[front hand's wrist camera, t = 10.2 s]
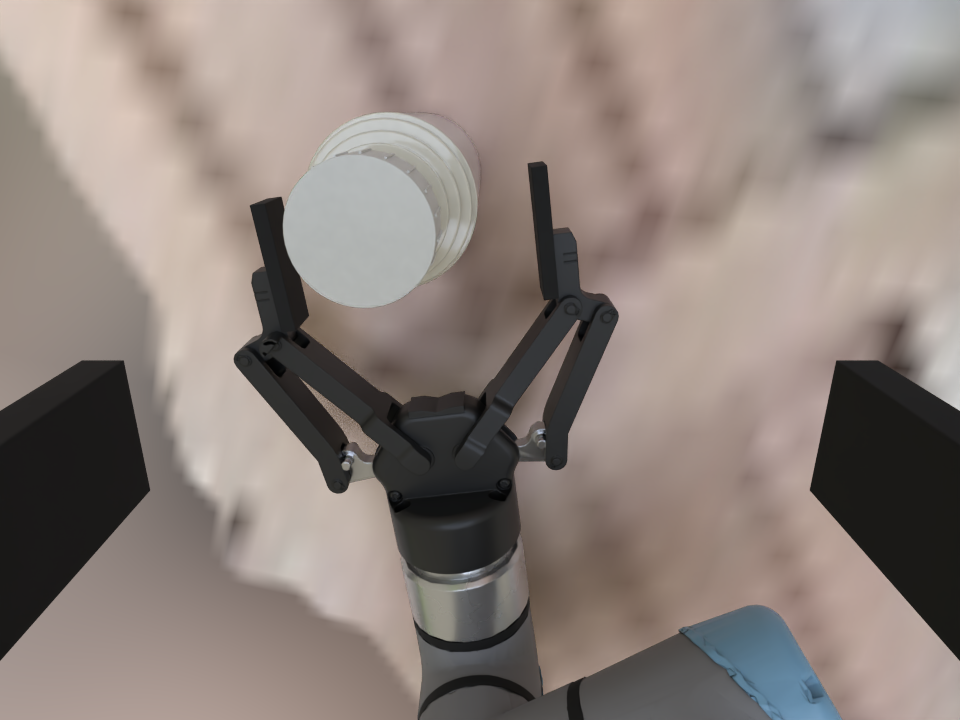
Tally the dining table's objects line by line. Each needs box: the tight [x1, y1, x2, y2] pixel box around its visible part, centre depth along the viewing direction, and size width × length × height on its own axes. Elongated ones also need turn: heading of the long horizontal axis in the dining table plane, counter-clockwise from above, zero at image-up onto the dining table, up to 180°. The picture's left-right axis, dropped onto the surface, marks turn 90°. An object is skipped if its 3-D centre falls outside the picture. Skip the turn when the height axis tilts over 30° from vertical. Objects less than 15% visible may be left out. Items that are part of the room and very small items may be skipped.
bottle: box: [308, 112, 481, 286], centre depth 29 cm, size 6×6×21 cm
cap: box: [283, 148, 443, 308], centre depth 20 cm, size 4×4×2 cm
